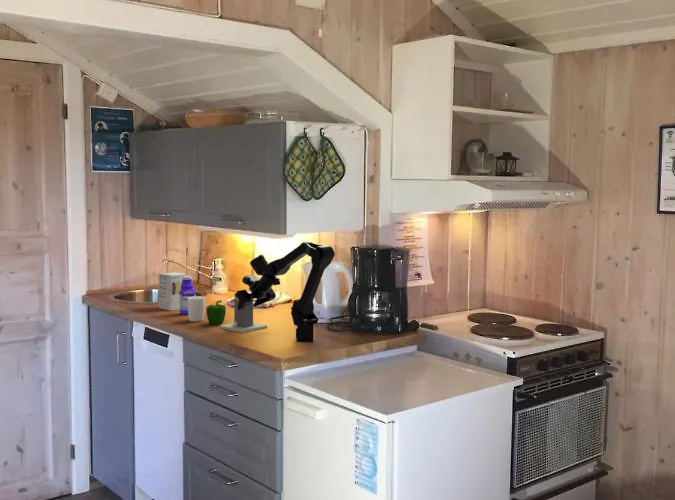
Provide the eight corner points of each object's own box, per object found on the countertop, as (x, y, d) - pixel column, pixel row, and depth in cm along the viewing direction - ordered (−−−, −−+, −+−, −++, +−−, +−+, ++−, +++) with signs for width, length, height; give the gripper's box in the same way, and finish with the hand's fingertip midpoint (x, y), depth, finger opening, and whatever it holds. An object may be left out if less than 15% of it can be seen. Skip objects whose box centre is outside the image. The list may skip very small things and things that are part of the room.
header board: (267, 327, 313) (267, 319, 312) (243, 332, 302) (243, 324, 301) (243, 323, 321) (243, 315, 321) (219, 327, 310) (219, 319, 310)
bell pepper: (208, 326, 314) (208, 302, 313) (204, 322, 322) (204, 299, 321) (228, 324, 317) (228, 301, 316) (223, 321, 325) (223, 298, 324)
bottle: (180, 315, 336) (180, 277, 335) (178, 313, 341) (178, 275, 340) (196, 314, 339) (196, 276, 338) (193, 312, 344) (193, 275, 343)
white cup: (197, 322, 321) (197, 299, 320) (183, 320, 325) (183, 298, 324) (209, 319, 328) (209, 297, 327) (195, 317, 332) (195, 295, 331)
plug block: (253, 325, 312) (253, 293, 310) (243, 327, 307) (243, 295, 306) (243, 323, 315) (243, 292, 314) (234, 325, 311) (234, 293, 309)
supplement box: (170, 310, 347) (170, 275, 345) (158, 308, 353) (157, 273, 351) (186, 308, 354) (186, 273, 353) (174, 306, 360) (173, 271, 358)
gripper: (270, 266, 312) (252, 290, 320) (238, 270, 298) (219, 295, 305) (284, 287, 308) (265, 310, 316) (252, 292, 293) (233, 316, 301)
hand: (246, 307), depth 310 cm, fingers open, 9 cm apart
